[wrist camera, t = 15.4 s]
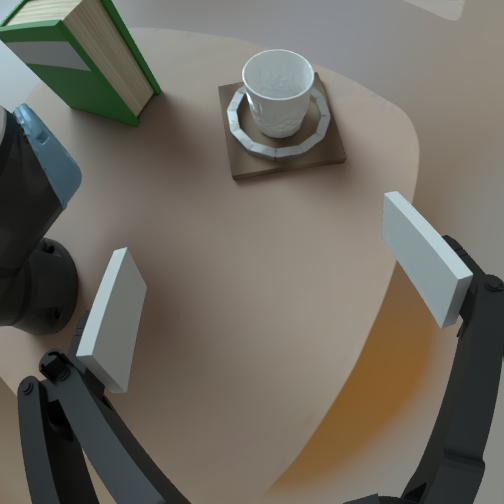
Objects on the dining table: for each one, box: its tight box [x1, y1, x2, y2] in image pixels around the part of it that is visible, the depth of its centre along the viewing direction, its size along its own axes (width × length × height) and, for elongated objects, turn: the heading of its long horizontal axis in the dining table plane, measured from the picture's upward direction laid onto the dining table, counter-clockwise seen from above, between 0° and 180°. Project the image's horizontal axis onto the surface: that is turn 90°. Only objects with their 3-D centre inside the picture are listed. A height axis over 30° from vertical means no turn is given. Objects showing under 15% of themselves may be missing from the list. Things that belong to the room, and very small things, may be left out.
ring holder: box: [218, 72, 346, 180], centre depth 40 cm, size 15×15×3 cm
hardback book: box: [0, 0, 162, 127], centre depth 33 cm, size 18×7×24 cm, turn 64°
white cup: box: [242, 50, 314, 138], centre depth 35 cm, size 8×8×10 cm
